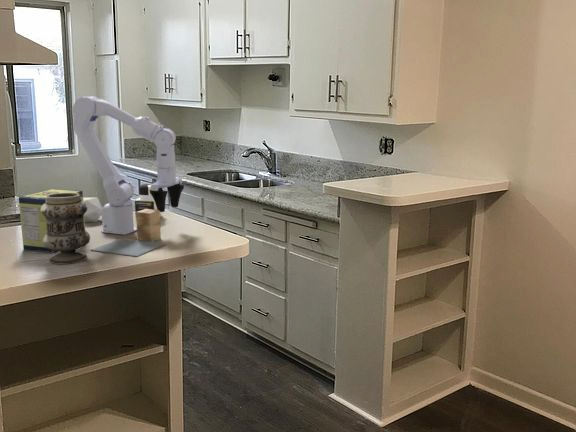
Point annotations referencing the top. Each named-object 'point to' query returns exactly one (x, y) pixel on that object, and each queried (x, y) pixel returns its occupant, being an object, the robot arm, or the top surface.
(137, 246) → the slate mat
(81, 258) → the apothecary jar
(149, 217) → the oak block
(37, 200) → the protein box
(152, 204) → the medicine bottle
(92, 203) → the die
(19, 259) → the top surface
